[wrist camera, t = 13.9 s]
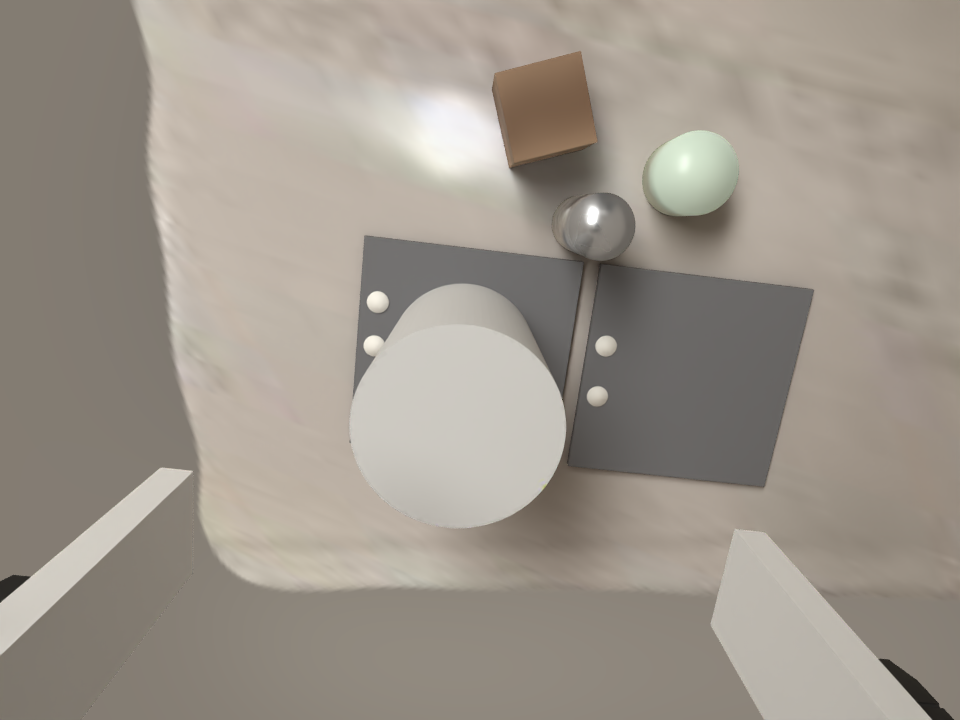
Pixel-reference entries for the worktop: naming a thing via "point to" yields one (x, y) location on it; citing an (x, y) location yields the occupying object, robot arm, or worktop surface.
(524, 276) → the pad three
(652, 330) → the pad two
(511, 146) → the walnut block
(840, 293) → the worktop surface
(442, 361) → the white cylinder
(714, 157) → the pale green domed piece
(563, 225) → the metal peg
